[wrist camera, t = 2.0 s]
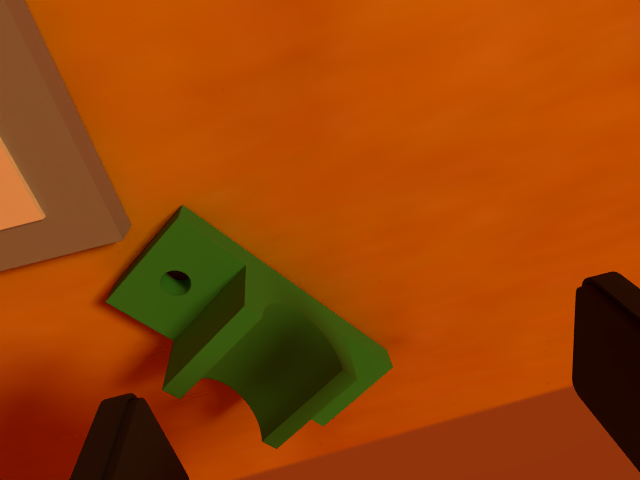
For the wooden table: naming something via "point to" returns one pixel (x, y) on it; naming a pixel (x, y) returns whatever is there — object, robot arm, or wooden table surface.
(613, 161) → the wooden table surface
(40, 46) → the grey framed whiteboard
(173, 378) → the pipe clamp
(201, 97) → the wooden table surface
